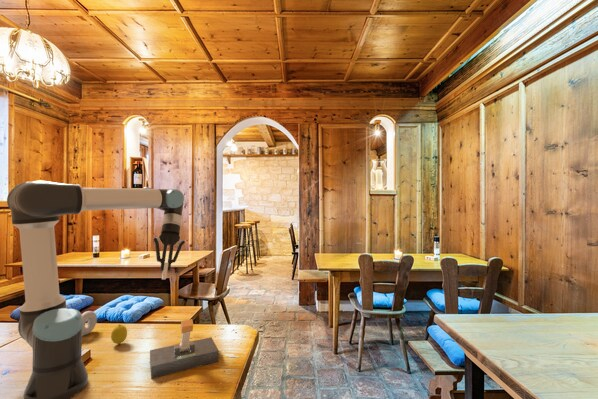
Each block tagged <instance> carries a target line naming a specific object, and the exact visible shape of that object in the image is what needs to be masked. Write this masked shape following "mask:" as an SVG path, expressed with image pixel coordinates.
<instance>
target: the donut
mask: <svg viewBox="0 0 598 399" xmlns="http://www.w3.org/2000/svg"><path fill="white" fill-rule="evenodd" d="M81 315H82V320H83V321H82V322H83V325H82V337H84V336H86V335H89V334H90V333H91V332H92V331H93V330H94V329H95V327H96V325H97V323H98V318H97V317H98V316H97V314H96V312H94V311H92V310H87V311H84V312H83V313H81Z"/></svg>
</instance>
